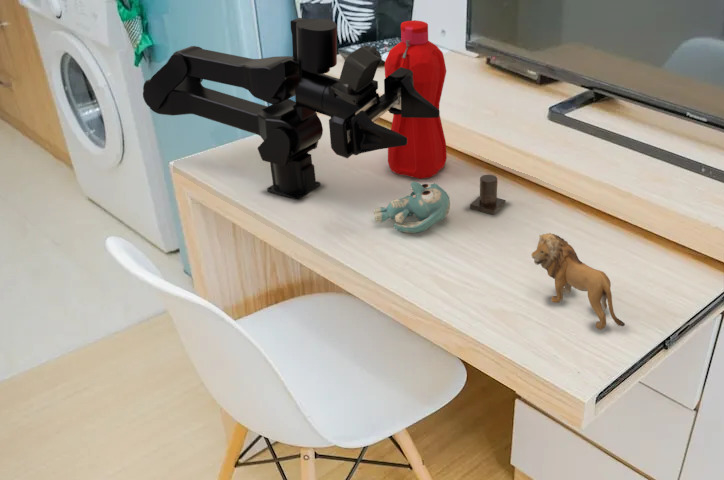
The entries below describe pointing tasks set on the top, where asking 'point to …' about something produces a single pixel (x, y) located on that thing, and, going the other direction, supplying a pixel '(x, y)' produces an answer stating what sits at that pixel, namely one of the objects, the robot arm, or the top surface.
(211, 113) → the robot arm
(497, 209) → the peg
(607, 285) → the lion figurine
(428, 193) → the stuffed animal
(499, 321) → the top surface
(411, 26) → the water bottle
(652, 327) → the top surface
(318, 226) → the top surface
